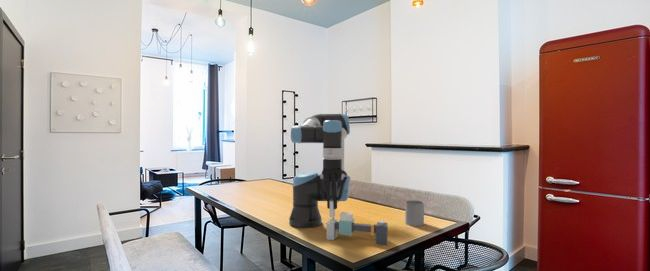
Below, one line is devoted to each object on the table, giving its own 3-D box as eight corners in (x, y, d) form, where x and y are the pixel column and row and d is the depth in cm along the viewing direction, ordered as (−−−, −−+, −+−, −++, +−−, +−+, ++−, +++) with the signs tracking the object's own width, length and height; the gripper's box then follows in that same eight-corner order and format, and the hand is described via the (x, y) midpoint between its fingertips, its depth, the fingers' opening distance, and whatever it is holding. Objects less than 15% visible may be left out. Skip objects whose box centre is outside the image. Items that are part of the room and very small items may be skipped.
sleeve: (339, 234, 126) (339, 214, 126) (341, 230, 131) (341, 211, 131) (351, 235, 125) (351, 215, 125) (353, 231, 130) (353, 212, 130)
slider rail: (326, 239, 127) (326, 219, 127) (330, 234, 133) (330, 215, 133) (386, 245, 121) (386, 224, 121) (387, 240, 127) (387, 220, 127)
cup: (424, 226, 144) (424, 204, 144) (405, 225, 146) (405, 203, 146) (422, 221, 153) (422, 200, 152) (405, 220, 154) (405, 200, 154)
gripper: (314, 158, 127) (314, 217, 128) (345, 159, 124) (345, 220, 124) (319, 157, 135) (319, 213, 135) (350, 158, 131) (349, 215, 131)
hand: (332, 216), depth 129 cm, fingers closed
